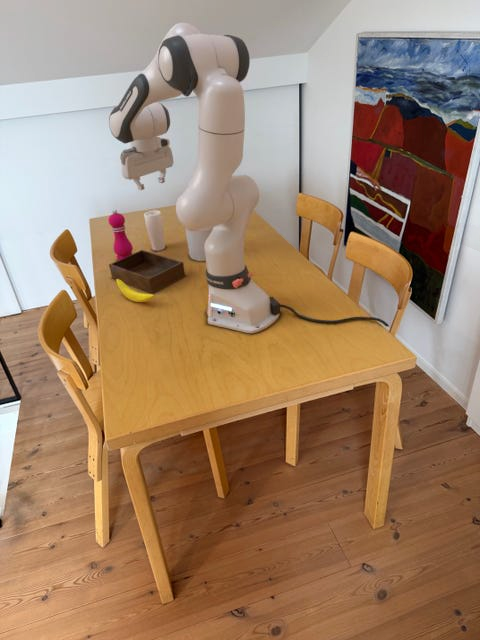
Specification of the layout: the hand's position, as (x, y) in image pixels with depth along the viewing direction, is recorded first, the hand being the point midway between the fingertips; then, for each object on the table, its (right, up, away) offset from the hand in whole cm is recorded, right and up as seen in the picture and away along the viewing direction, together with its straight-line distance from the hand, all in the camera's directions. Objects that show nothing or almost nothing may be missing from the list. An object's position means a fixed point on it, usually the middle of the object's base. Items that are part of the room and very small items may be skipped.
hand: (151, 186), depth 159 cm
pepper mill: (-14, -23, +21) cm, 34 cm away
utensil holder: (+18, -21, +19) cm, 34 cm away
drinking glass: (-2, -18, +28) cm, 33 cm away
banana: (-3, -41, -10) cm, 42 cm away
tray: (-2, -31, +5) cm, 32 cm away
